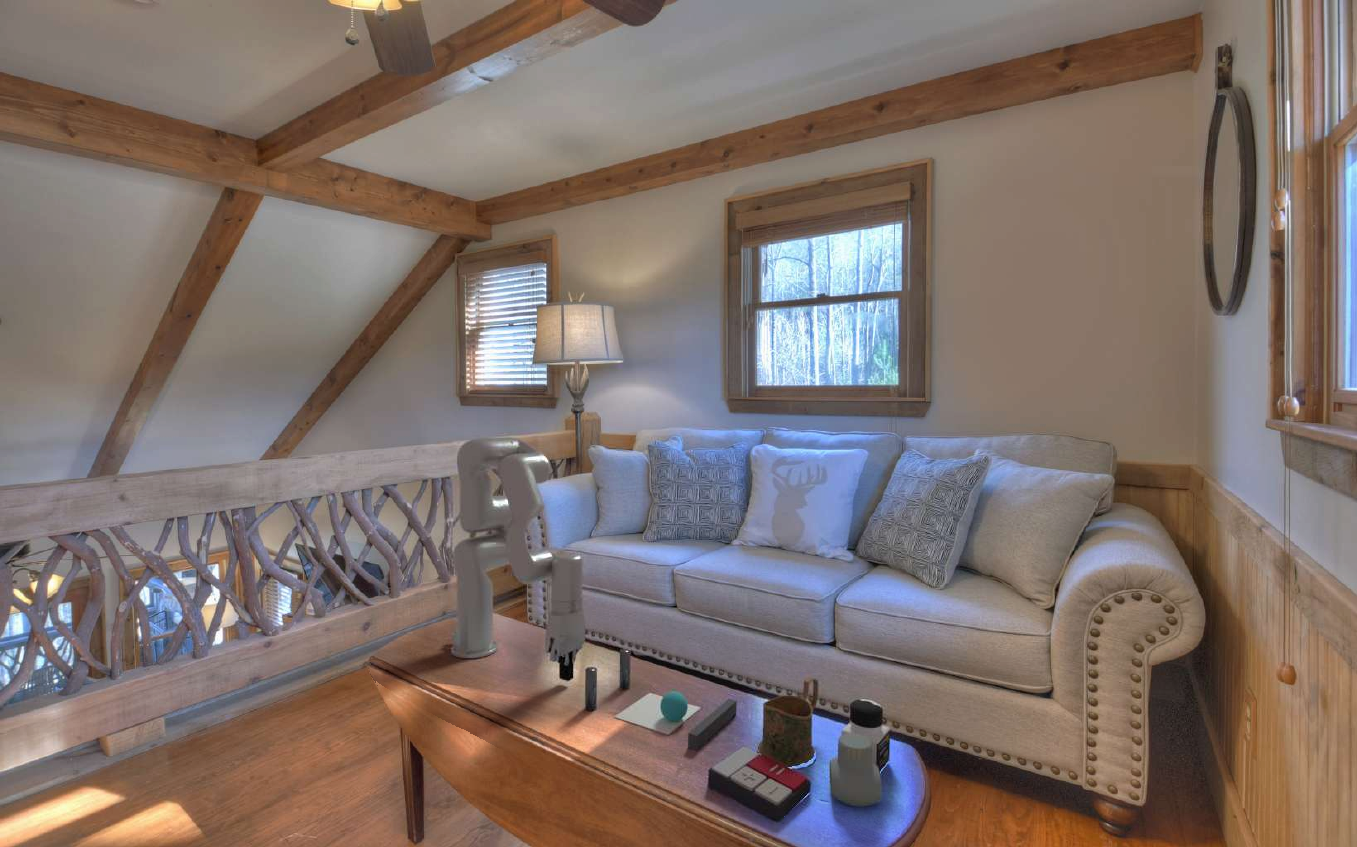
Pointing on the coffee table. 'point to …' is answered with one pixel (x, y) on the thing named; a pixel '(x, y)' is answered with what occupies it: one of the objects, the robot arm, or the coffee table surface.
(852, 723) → the medicine bottle
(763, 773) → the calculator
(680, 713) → the ball
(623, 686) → the post
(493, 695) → the coffee table surface
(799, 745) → the mug
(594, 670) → the post
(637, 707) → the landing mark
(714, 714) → the wall
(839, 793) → the air freshener
